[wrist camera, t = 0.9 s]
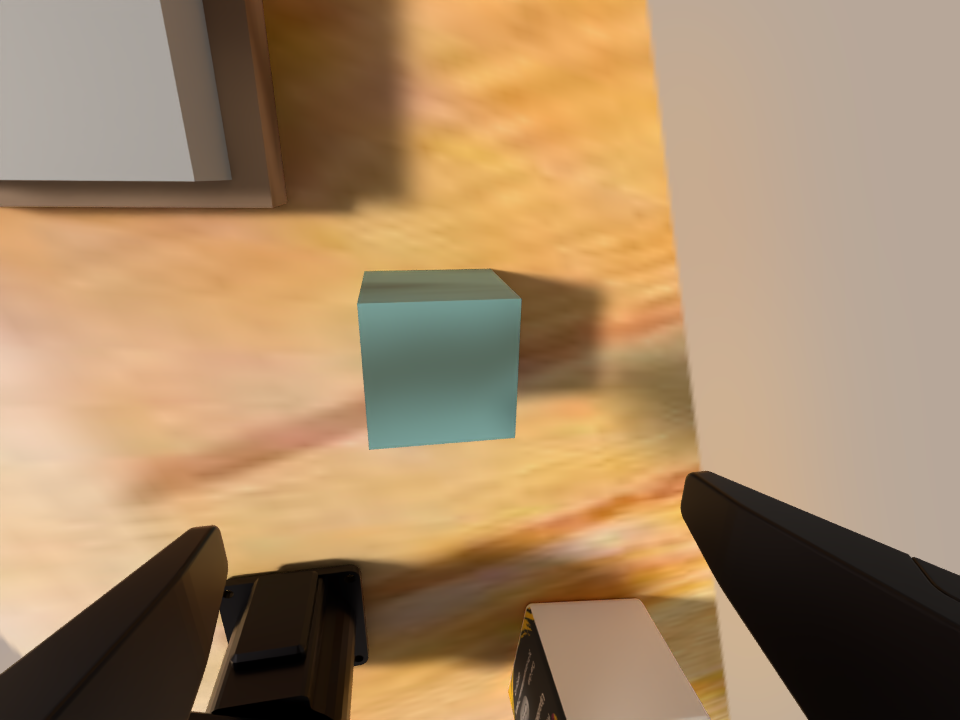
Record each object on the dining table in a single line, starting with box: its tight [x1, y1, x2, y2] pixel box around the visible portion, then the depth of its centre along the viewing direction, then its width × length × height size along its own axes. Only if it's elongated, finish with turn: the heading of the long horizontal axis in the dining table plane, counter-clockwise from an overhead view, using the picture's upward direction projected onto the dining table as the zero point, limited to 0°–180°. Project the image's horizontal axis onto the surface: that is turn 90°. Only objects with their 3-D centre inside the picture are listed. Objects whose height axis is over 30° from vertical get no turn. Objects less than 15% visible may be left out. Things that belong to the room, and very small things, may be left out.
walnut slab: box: [0, 0, 287, 208], centre depth 14 cm, size 10×10×3 cm
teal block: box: [357, 269, 522, 450], centre depth 18 cm, size 5×5×5 cm
